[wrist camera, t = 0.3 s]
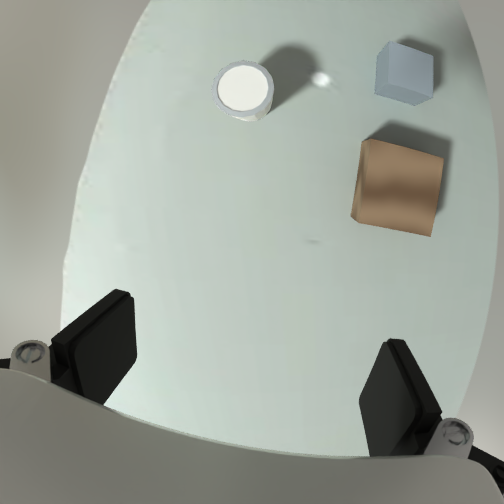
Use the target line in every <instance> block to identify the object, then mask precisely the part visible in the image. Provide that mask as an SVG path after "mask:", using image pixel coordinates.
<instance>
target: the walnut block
mask: <svg viewBox="0 0 504 504" xmlns="http://www.w3.org/2000/svg"><path fill="white" fill-rule="evenodd" d="M443 162H444V158H440V157H437V156H434V155H431V154H428V153H424V152H421V151H417V150H414V149H410V148H407V147H403V146H399V145H395V144H391V143H387V142H383V141H379V140H375V139H369V140H366V141H363V142H362V144H361V152H360V160H359V167H358V174H357V181H356V187H355V194H354V200H353V206H352V212H351V217H352V218H353V219H354V220H356V221H357V222H358V223H362V224H368V225H373V226H379V227H384V228H389V229H394V230H399V231H404V232H410V233H414V234H419V235H424V236H429V237H431V233H432V228H433V223H434V218H435V213H436V208H437V202H438V197H439V191H440V184H441V177H442V170H443Z"/></svg>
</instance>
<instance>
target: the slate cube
mask: <svg viewBox="0 0 504 504" xmlns="http://www.w3.org/2000/svg"><path fill="white" fill-rule="evenodd" d="M375 94H376V95H380V96H383V97H387V98H390V99H394V100H397V101H401V102H404V103H407V104H410V105H414V106H415V105H418V104H420V103H422V102H424V101H427V100H429V99H431V98H433V56H432V55H430V54H427V53H424V52H422V51H419V50H416V49H413V48H410V47H407V46H404V45H401V44H398V43H395V42H392V41H389V42H388V43H387V44H386V46H385V47H384V48H383V49H382V51H381V52H380V53H379V54H378V56H377V66H376V82H375Z"/></svg>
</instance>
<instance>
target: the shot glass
mask: <svg viewBox="0 0 504 504" xmlns="http://www.w3.org/2000/svg"><path fill="white" fill-rule="evenodd" d="M211 90H212V96H213V101H214V102H215V103H216V105H217V106H218V108H219V109H220V110H221V111H223V112H225V113H226V114H228V115H230V116H232V117H235V118H238V119H240V120H244V121H249V122H251V121H256V120H259V119H261V118H263V117H264V116H266V115H267V113H268V112H269V110H270V109H271V105H272V100H273V94H274V84H273V79H272V76H271V75H270V74H269V72H268V71H267V70H266V68H264V67H263V66H261V65H259V64H257V63H256V62H250V61H238V62H234V63H230V64H229V65H227V66H226V67H224V68H222V69H221V70H220V71H219V73H218V74H217V75H216V77H215V78H214V81H213V85H212V89H211Z"/></svg>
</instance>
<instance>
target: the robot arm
mask: <svg viewBox="0 0 504 504" xmlns="http://www.w3.org/2000/svg"><path fill="white" fill-rule="evenodd" d="M51 342H52V344H51V345H50V346H49V347H48V346H47V345H46V344H45V343H43V342H42V341H38V340H28V341H24V342H22V343H20V344H18V345H17V346H16V347H15V348H14V349H13V351H12V354H11V358H9V359H0V504H504V462H503V461H501V460H499V459H497V458H496V457H494V456H492V455H490V454H488V453H486V452H484V451H482V450H480V449H478V448H476V447H475V446H473V445H472V443H473V439H474V436H473V431H472V430H471V429H470V427H469V426H468V425H467V424H466V423H465V422H463V421H461V420H459V419H456V418H446V419H444V420H442V418H441V413H442V410H441V408H440V406H439V404H438V402H437V400H436V398H435V396H434V394H433V392H432V390H431V388H430V386H429V384H428V383H427V381H426V379H425V377H424V375H423V373H422V371H421V369H420V367H419V366H418V364H417V362H416V360H415V358H414V356H413V355H412V353H411V351H410V349H409V348H408V346H407V344H406V342H405V341H404V340H401V339H391V338H390V339H388V341H387V342H383V344H382V346H381V348H380V351H379V353H378V356H377V358H376V361H375V363H374V366H373V368H372V370H371V373H370V375H369V377H368V379H367V382H366V384H365V386H364V388H363V390H362V393H361V395H360V398H359V406H360V410H361V415H362V420H363V424H364V429H365V434H366V439H367V444H368V449H369V454H370V457H365V456H327V455H312V454H300V453H290V452H282V451H274V450H267V449H260V448H254V447H248V446H242V445H237V444H231V443H226V442H222V441H217V440H212V439H208V438H204V437H200V436H196V435H192V434H188V433H184V432H180V431H177V430H173V429H170V428H166V427H163V426H160V425H157V424H153V423H150V422H147V421H144V420H141V419H138V418H135V417H133V416H130V415H127V414H124V413H122V412H119V411H116V410H114V409H111V408H109V407H106V406H104V403H105V402H106V401H107V399H108V398H109V396H110V395H111V394H112V392H113V391H114V390H115V388H116V387H117V386H118V384H119V383H120V382H121V380H122V379H123V378H124V376H125V375H126V374H127V372H128V371H129V370H130V368H131V367H132V366H133V364H134V363H135V361H136V358H137V346H136V331H135V309H134V298H133V297H131V295H130V293H129V292H126V291H122V290H118V289H114V290H113V291H112V292H110V293H109V294H108V295H106V296H105V297H104V298H102V299H101V300H100V301H98V302H97V303H96V304H95V305H93V306H92V307H91V308H89V309H88V310H87V311H86V312H84V313H83V314H82V315H80V316H79V317H78V318H77V319H75V320H74V321H73V322H72V323H70V324H69V325H68V326H67V327H65V328H64V329H63V330H62V331H60V332H59V333H58V334H57V335H55V336H54V337H53V338H52V339H51Z"/></svg>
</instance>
